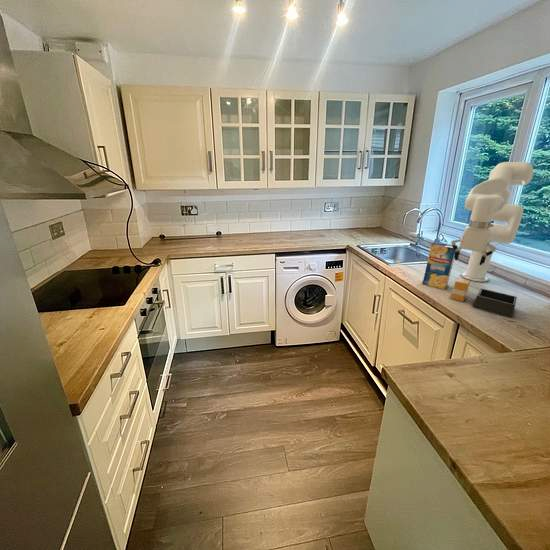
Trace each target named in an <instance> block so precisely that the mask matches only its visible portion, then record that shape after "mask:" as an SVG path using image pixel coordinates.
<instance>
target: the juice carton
mask: <svg viewBox="0 0 550 550" xmlns="http://www.w3.org/2000/svg"><path fill="white" fill-rule="evenodd" d="M470 282H471V280H469V279H463V278H457V279H456V280H455V282H454V286H453V289H452V292H451V297H450V299H451V300H454V301H455V300H456V301H458V302H464V301H465V300H466V296H467V293H468V290H469V286H470Z"/></svg>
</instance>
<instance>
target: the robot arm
mask: <svg viewBox="0 0 550 550" xmlns="http://www.w3.org/2000/svg"><path fill="white" fill-rule="evenodd" d="M533 176H534V166H533V165H532V164H531V163H530V162H527V161H503V162H500V163H498V164H496V166H494V168H492V169H491V170H490V172H489V175H488V179H487V180H485V181H482V182H481V183H478V184H476V185H474V186H473V187H472V188H471V189H470V191H469V193H468V195H467V196H466V199H465V201H464V207H465V209H466V210H467V211H471V215H470V218H469V222H468V225H467V226H465V228H464V230H463V232H462V236H461V238H458V239H453V240H451V241H450V243H451V245H452V247H453V248H454V250H455V251H456V252H455V256H454V261H458V260H459V258H460V253H461V250H467V251H471V252H470V257H469V259H468V264H467V266H466V271H464V272H462V273H461V276H462V277H463V278H464V279H465V280H468V281H473V282H480V283H485V282H488V281H489V277H487V273H488V269H489V266H490V264H491V260H492V256H493V254H494V252H495V251H497V249H498V248H497V247H496V246H495V245H493V244H492V243H497V244H504V245H509V244H512V243H514V241H515V239H516V236H517V233H518V230H519V227H520V224H521V221H522V219H523V216H524V215H523V214H524V208H523V206H522V205H520V204H514V203H509V200H510V197H511V191H510V189H509V188H508V187H509V186H527V185H529V184H530V182H531V181H532V179H533ZM493 222H497V223H493ZM498 222H499V223H506V224H499V223H498ZM456 243H459V244H458V245H457V244H456ZM456 245H457V246H458V247H457V246H456Z"/></svg>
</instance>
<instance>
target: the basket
mask: <svg viewBox="0 0 550 550" xmlns="http://www.w3.org/2000/svg"><path fill="white" fill-rule="evenodd" d="M517 299H518V296H516V295H511V294H507V293H503V292H500V291H499V292H498V291H495V290H490V289H486V288H483V287H482V288H480V289H479V290H478V293H477V294H476V297H475V301H474V303H473V308H475V309H479V310H482V311H486V312H489V313H493V314H497V315H501V316H505V317H507V318H512V316H513V313H514V310H515V308H516V304H517Z"/></svg>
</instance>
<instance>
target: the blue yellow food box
mask: <svg viewBox="0 0 550 550" xmlns="http://www.w3.org/2000/svg"><path fill="white" fill-rule="evenodd" d="M456 246H457V247H459V245H457V244H456ZM455 252H456V251H455V250H454V248H453V247H452V243H451V244H450V243H444V242H437V241H433V242H432V243H431V244H430V249H429V254H428V259H427V262H426V267H425V271H424V276H423V279H422V284H423V285H426V286H430V287H434V288H437V289H441V290H442V289H443V290H446V288H447V287H448V285H449V281H450V278H451V273H452V270H453V266H454V262H455V258H454V256H455Z"/></svg>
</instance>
